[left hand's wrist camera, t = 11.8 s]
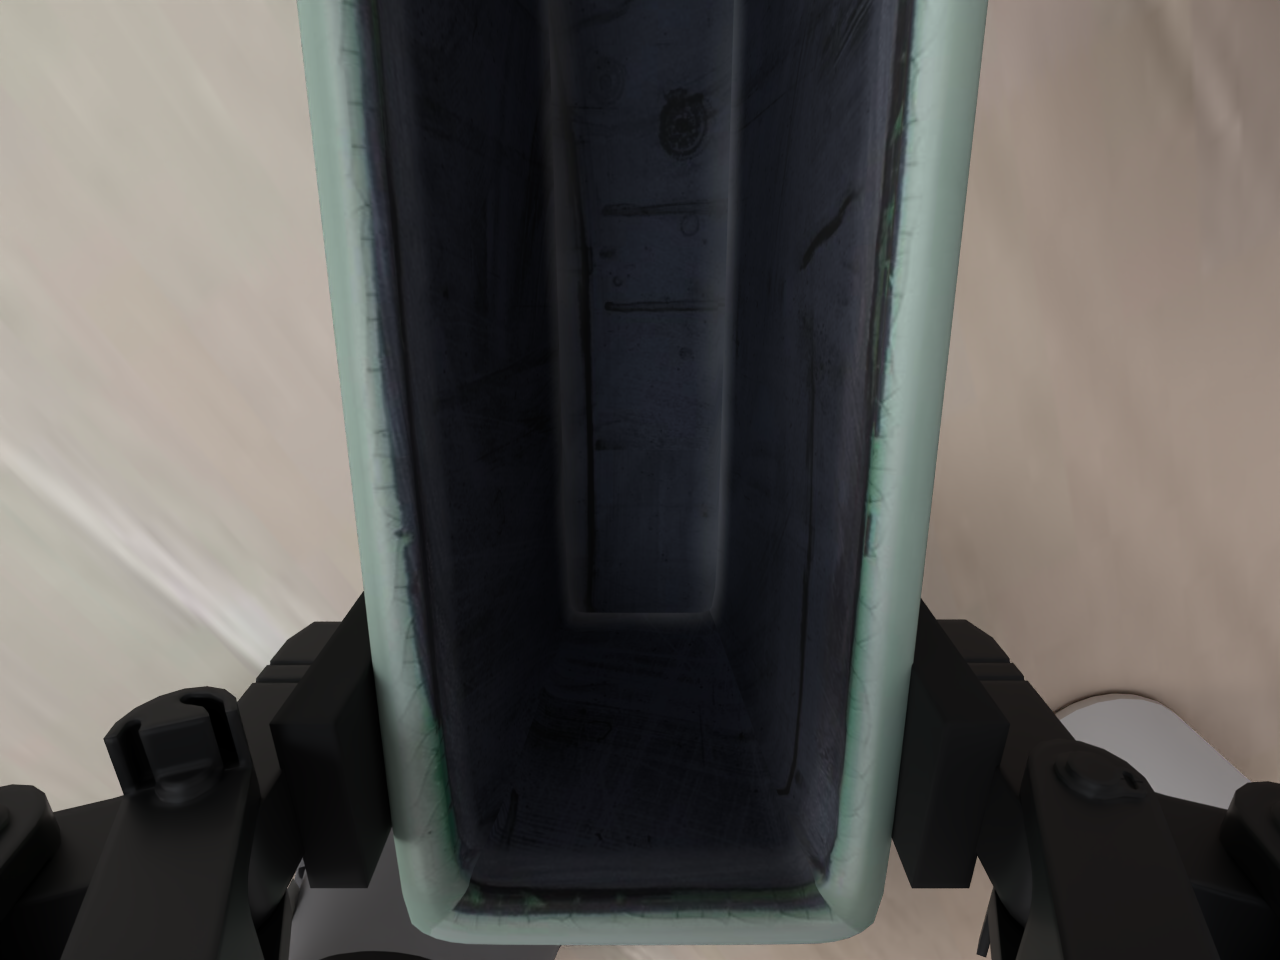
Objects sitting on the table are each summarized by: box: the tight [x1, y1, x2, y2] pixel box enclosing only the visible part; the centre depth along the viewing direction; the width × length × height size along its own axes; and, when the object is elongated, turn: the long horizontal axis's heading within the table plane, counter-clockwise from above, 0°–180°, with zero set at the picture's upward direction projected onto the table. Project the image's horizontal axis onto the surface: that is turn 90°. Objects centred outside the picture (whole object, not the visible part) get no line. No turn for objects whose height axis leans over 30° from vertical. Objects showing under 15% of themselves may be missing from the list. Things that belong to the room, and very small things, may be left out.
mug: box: [1055, 693, 1251, 810], centre depth 31 cm, size 11×9×10 cm
